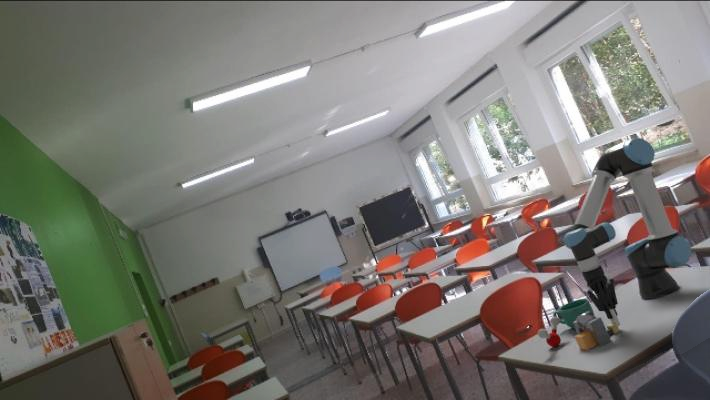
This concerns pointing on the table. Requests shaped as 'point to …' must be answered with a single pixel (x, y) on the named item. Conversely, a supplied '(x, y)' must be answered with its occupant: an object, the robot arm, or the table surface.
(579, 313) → the mug
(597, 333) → the housing
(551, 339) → the molecular model
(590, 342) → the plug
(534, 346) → the table surface
